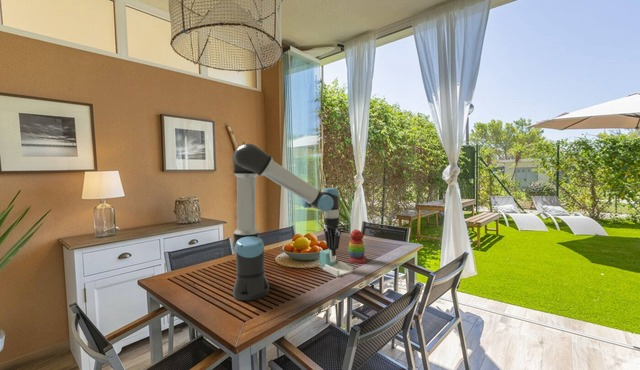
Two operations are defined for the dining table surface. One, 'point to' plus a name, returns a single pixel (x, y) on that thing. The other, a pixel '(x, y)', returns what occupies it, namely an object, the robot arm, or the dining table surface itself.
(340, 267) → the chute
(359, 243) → the stacking bear
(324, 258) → the block
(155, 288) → the dining table surface
